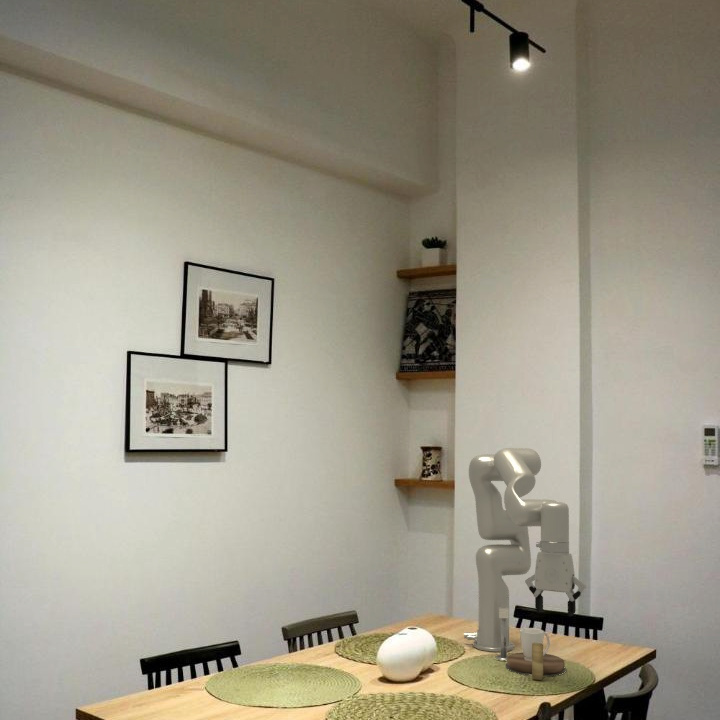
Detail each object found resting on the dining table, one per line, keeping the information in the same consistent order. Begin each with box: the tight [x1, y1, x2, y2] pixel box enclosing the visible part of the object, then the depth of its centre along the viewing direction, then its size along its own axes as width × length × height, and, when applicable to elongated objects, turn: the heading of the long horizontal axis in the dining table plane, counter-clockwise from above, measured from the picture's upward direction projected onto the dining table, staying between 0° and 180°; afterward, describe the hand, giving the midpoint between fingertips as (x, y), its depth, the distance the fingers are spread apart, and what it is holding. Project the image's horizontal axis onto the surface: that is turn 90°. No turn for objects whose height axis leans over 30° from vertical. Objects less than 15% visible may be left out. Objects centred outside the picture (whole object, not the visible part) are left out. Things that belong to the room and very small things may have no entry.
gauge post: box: [494, 607, 510, 661], centre depth 254 cm, size 5×5×15 cm
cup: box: [519, 627, 551, 661], centre depth 245 cm, size 7×10×8 cm
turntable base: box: [505, 662, 567, 677], centre depth 244 cm, size 17×17×1 cm
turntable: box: [506, 643, 565, 681], centre depth 241 cm, size 22×16×9 cm
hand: (555, 613), depth 231 cm, fingers open, 8 cm apart
